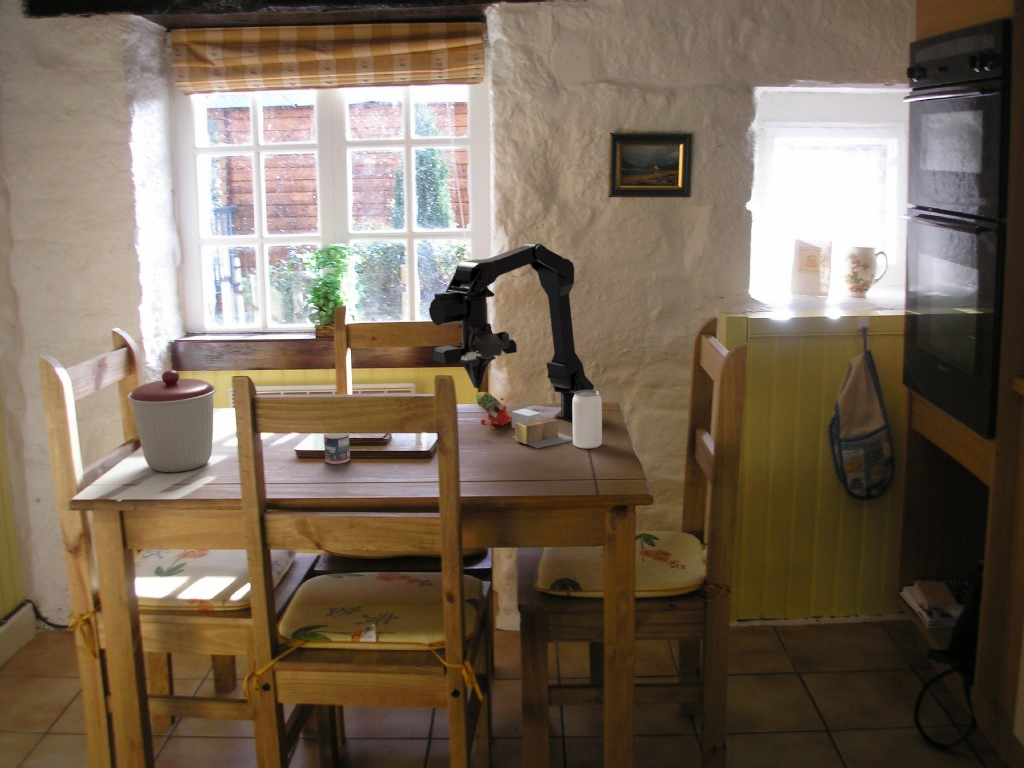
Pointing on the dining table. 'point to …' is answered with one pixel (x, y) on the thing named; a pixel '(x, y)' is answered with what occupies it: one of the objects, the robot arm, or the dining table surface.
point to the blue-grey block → (524, 416)
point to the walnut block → (536, 430)
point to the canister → (174, 422)
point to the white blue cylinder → (337, 448)
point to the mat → (551, 441)
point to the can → (587, 419)
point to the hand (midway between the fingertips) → (476, 387)
